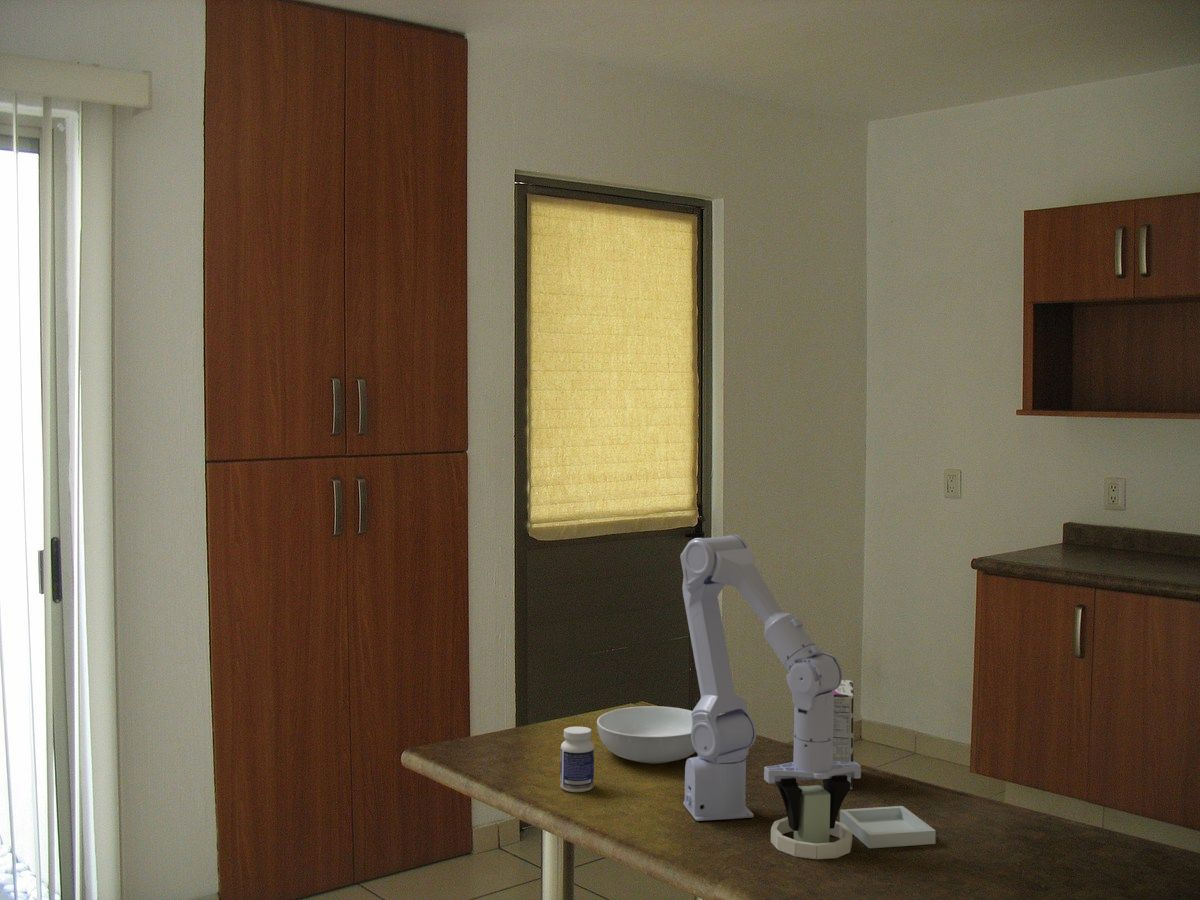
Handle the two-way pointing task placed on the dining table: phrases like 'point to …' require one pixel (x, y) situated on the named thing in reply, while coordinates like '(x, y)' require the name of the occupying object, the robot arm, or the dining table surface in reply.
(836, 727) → the candy bar box
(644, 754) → the serving bowl
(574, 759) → the pill bottle
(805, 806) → the peg
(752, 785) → the dining table surface
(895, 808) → the tray
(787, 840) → the collar
